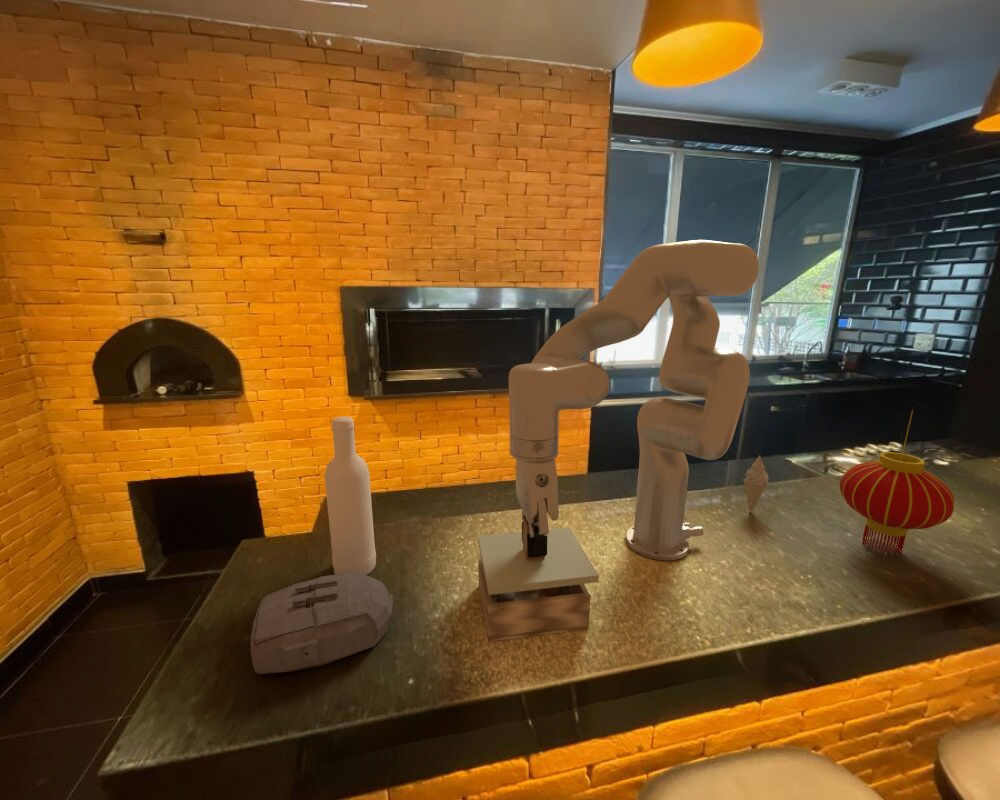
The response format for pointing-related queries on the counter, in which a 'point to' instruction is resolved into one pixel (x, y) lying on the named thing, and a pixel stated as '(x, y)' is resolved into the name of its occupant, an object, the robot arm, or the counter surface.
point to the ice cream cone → (755, 483)
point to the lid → (533, 562)
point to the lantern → (896, 496)
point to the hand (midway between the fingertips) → (534, 548)
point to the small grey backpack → (319, 622)
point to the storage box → (533, 610)
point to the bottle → (349, 504)
